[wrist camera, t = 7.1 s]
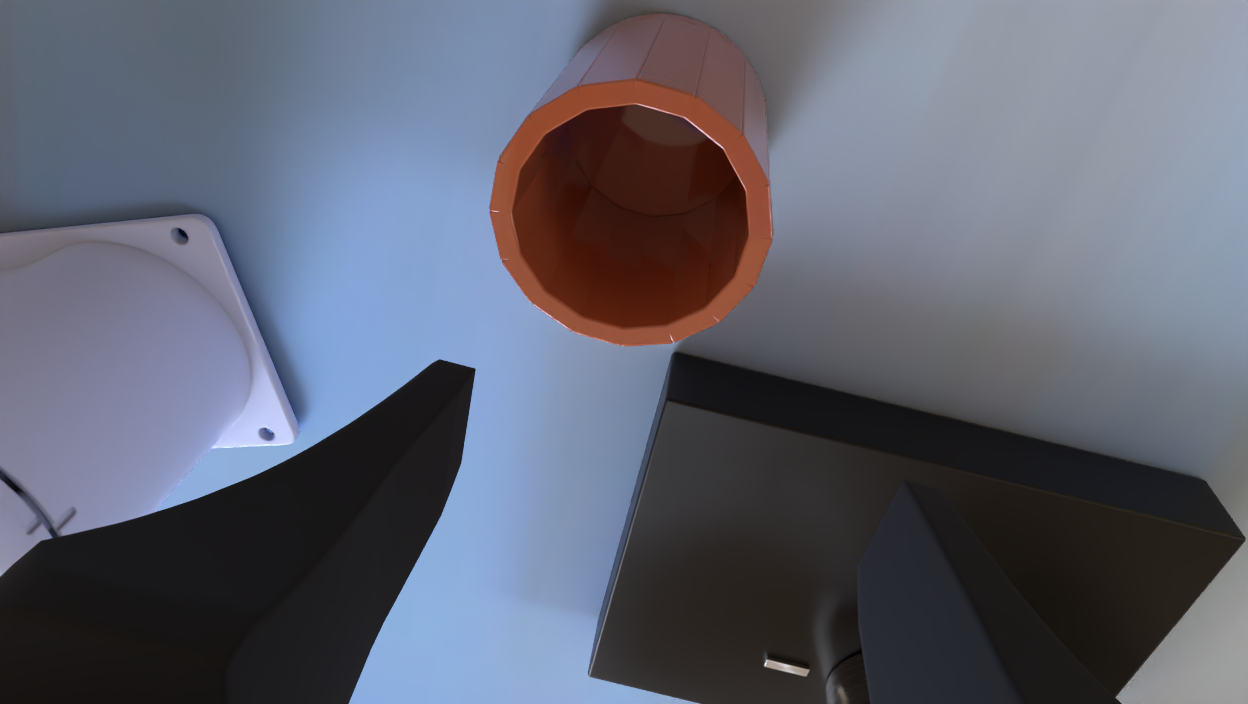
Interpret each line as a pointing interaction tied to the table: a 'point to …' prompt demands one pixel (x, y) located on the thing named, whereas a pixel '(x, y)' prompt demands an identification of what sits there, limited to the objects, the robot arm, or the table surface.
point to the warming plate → (846, 522)
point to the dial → (848, 683)
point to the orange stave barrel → (640, 185)
